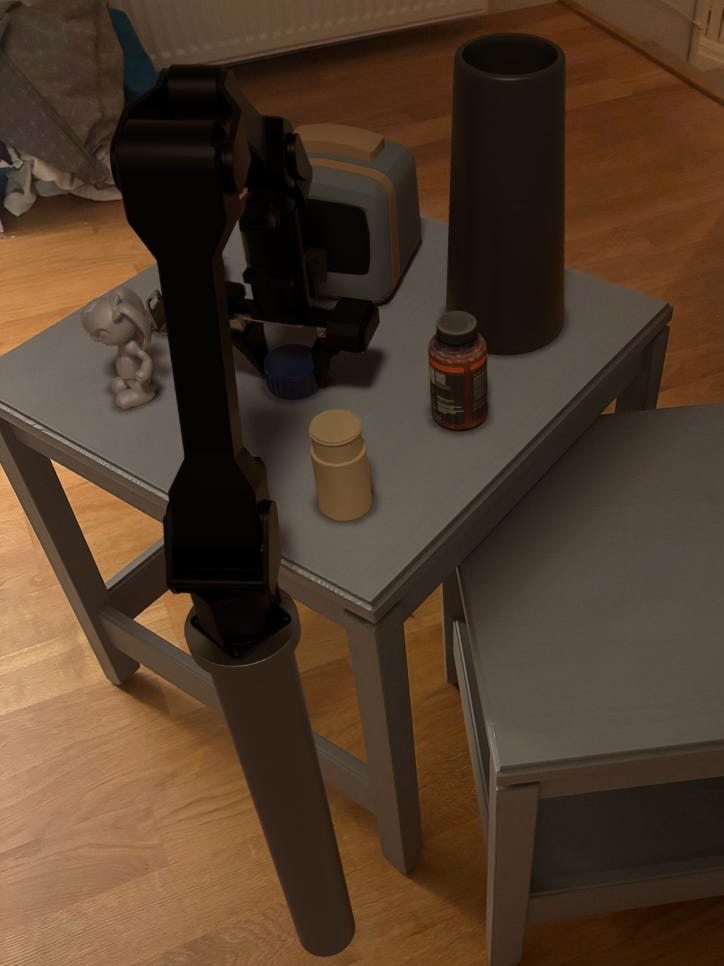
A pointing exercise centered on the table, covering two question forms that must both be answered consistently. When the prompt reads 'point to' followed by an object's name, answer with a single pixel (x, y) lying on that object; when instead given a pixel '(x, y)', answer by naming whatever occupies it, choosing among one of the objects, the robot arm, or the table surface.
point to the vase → (508, 190)
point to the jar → (340, 465)
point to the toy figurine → (123, 342)
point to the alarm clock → (360, 209)
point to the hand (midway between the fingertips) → (296, 382)
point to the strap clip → (155, 313)
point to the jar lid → (290, 371)
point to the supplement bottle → (458, 372)
